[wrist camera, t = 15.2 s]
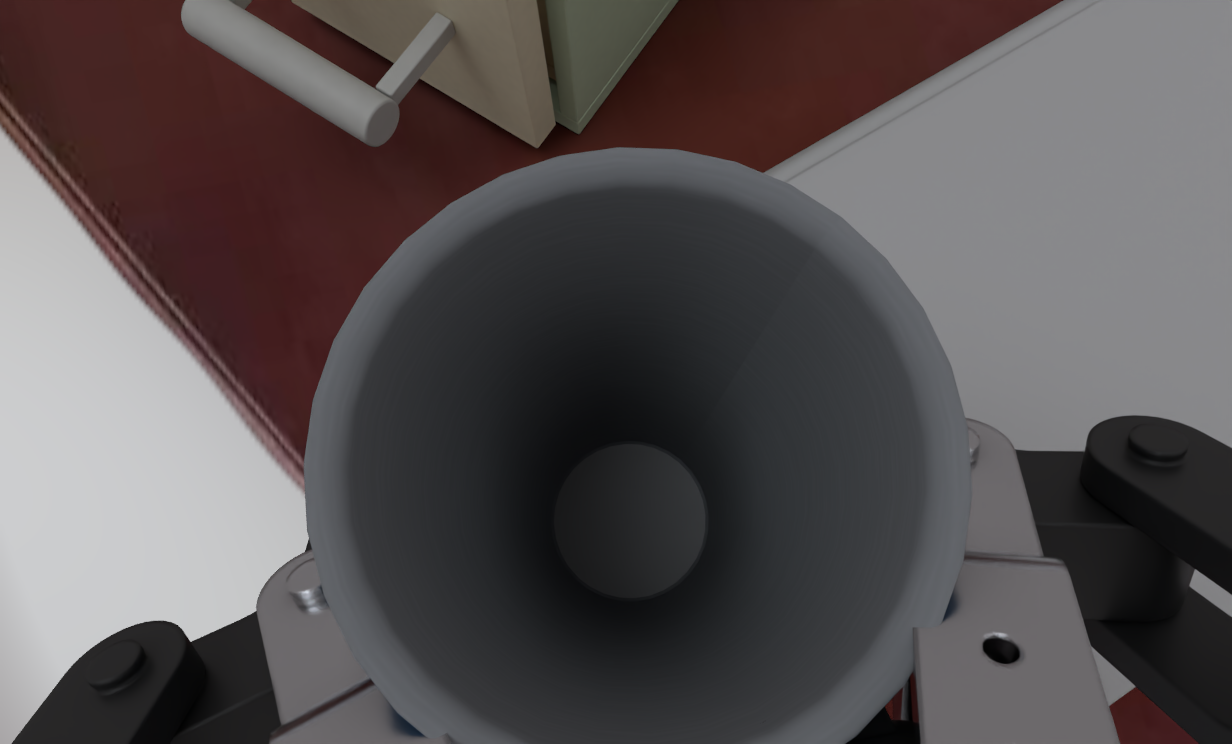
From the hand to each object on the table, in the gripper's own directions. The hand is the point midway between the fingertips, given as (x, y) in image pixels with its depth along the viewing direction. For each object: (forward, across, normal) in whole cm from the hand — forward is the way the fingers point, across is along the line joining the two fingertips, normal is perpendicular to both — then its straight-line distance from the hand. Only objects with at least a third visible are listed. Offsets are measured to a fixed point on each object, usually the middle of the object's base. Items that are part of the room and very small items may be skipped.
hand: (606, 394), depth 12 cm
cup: (+3, 0, +6) cm, 6 cm away
